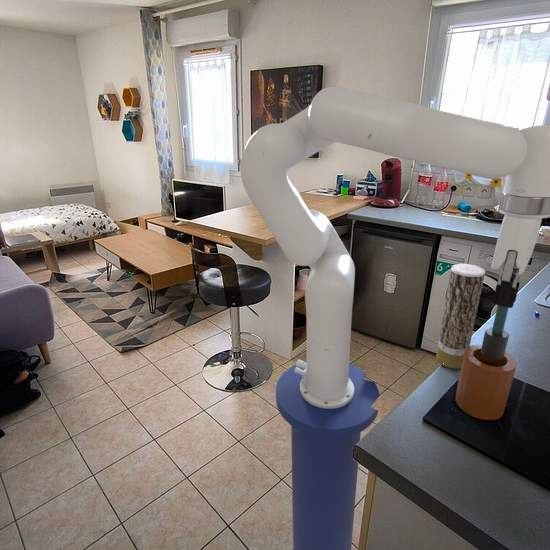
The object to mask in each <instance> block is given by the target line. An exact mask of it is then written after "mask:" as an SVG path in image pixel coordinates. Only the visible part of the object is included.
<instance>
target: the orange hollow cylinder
mask: <svg viewBox="0 0 550 550" xmlns="http://www.w3.org/2000/svg"><path fill="white" fill-rule="evenodd" d="M481 348H482V344H472V345H470V346H469V347H467V348H466V350H465V352H464V357H463V362H462V367H461V368H460V372H459V378H458V382H457V387H456V392H455V403H456V404H457V406H458V407H459V408H460V409H461V410H462V411H463V412H464V413H466V414H468V415H469V416H471V417H473V418H476V419H479V420H484V421H497V420H498V419H501V418H502V417H503V416H504V413H505V409H506V406H507V402H508V399H509V395H510V391H511V387H512V384H513V380H514V376H515V374H516V373H515V372H516V369H517V365H518V362H517V360H516V358H515V357H514V356H512V354H510V353H509V352H508V351H505V354H504V358H503V359H501V360H492V359H489V358H487V357H485V356H483V355H482V354H481Z"/></svg>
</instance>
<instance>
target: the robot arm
mask: <svg viewBox="0 0 550 550" xmlns="http://www.w3.org/2000/svg"><path fill="white" fill-rule="evenodd" d="M333 143H340V144H342V145H343V144H344V145H347V146H353V147H356V148H360V149H363V150H369V151H371V152H375V153H379V154H383V155H387V156H391V157H396V158H399V159H402V160H407V161H414V162H419V163H422V164H423V163H424V164H427V165H430V166H434V167H439V168H443V169H446V170H450V171H454V172H459V173H462V174H467V175H471V176H474V177H478V178H482V179H487V180H488V179H489V180H498V179H502V178H505V179H504V180H505V181H504V185H503V191H502V195H501V199H500V204H499V209H498V213H500V214H502V215H504V216H503V219H502V222H501V224H500V225H501V226H500V229H499V232H498V237H497V240H496V244H495V249H494V253H493V256H492V260H491V261H492V262H491V264H490V269H491V270H492V271H498V270H499V269H500V271H499V276H498V281H497V283H496V286H495V290H494V294H493V299H492V304H493V305H496V306H498V305H499V306H504V307H508V308H509V309H513V308H514V304H515V302H516V300H517V296H518V292H519V288H520V285H521V282H520V279H521V275H523V274H524V272H525V271H526V268H527V266H528V264H529V262H530V260H531V257H532V254H533V252H534V249H535V247H536V242H537V239H538V235H539V232H540V229H541V224H542V220H543V219H548V218H550V124H544V125H543V124H541V125H539V124H538V125H528V126H527V125H526V126H523V127H513V126H510V125H506V124H502V123H497V122H492V121H488V120H483V119H478V118H474V117H471V116H465V115H462V114H457V113H452V112H447V111H443V110H438V109H435V108H432V107H429V106H426V105H422V104H418V103H414V102H410V101H405V100H401V99H395V98H390V97H388V96H387V97H386V96H382V95H378V94H374V93H369V92H365V91H361V90H356V89H351V88H347V87H343V86H327V87H325V88H323V89H321V90H320V91H318V92H317V93H316V94H315V96H314V97H313V99H312V100H311V102H310V105H309V106H307V107H306V108H304V109H302V110H301V111H299V112H298V113H296V114H295V115H293V116H291V117H289V118H288V119H287V120H285V121H283V122H282V123H269V124H265V125H264V126H262V127H260V128H258V129H257V130H256V131H255V132H254V133H253V134H252V135H251V136H250V138H249V139H248V140H247V142H246V145H245V147H244V149H243V151H242V154H241V158H240V170H239V171H240V178H241V182H242V185H243V188H244V190H245V193H246V194H247V196H248V197H249V199H250V201H251V203H252V204H253V206H254V207H255V209H256V210H257V212H258V213H259V214H260V216H261V218H262V219H263V221H264V223H265V225H266V227H267V228H268V230H269V231H270V233H271V235H272V236H273V238H274V239H275V241H276V242H277V244H278V246H279V247H280V249H281V251H282V252H283V254H284V256H285V257H286V258H287V259H288V260H289V261H290V262H291V263H293V264H295V265H297V266H301V267H309V268H310V272H309V275H308V277H307V279H306V284H305V289H304V303H305V311H306V312H305V314H306V361H307V363H305V361H304V360H302V359H297V360H296V362H295V365H296V368H295V370H294V372H295V373H297V374H300V375H302V377H303V379H302V380H301V382H300V393H301V395H302V397H303V398H304V399H305V400H306V401H307V402H308V403H310V404H312V405H314V406H316V407H319V408H324V409H334V408H339V407H342V406H345V405H346V404H348V403H349V402H350V401H351V400H352V398H353V396H354V385H353V383H352V381H351V380H350V379H349V378H348V373H349V364H350V353H351V337H352V320H353V319H352V318H353V304H354V292H355V291H354V290H355V277H356V266H355V262H354V260H353V259H352V257H351V254H350V253H349V250H347V248H346V246H345V244H344V242H343V241H342V239H341V238H340V236H339V235H338V232H337V231H336V229H335V227H334V226H333V224H332V223H331V221H330V220H329V218H327V217H326V216H325V215H324V214H323V213H322V212H320V211H319V210H316V209H311V208H308V207H307V205H306V204H305V202H304V200H303V199H302V196H301V195H300V194H299V192H298V190H297V189H296V187H295V185H293V183H291V181H290V179H289V177H288V171H289V169H291V168H293V167H295V166H296V165H298V164H299V163H301V162H303V161H305V160H306V159H308V158H310V157H312V156H313V155H315V154H317V153H318V152H320V151H322V150H323V149H325V148H327V147H329V146H330V145H332V144H333ZM512 275H513V276H514V277H513V276H512ZM297 367H298V368H297ZM299 368H300V369H299ZM301 369H304V371H303V370H301Z"/></svg>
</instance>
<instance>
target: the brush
mask: <svg viewBox="0 0 550 550" xmlns="http://www.w3.org/2000/svg"><path fill="white" fill-rule="evenodd" d="M512 276H513V275H512ZM513 277H514V276H513ZM496 306H497V307H496V312H495V315H494V319H493V324H492V327H487V328H485V330H484V335H483V340H482V343H481V345H482V348H481V354H482V355H483V356H485V357H487V358H489V359H492V360H501V359H503V358H504V354H505V352H506V350H507V347H508V342H509V338H510V334H509V332H508V331H507V330H505V325H506V322H507V317H508V313H509V309H510V308H508V307H504V306H499V305H496Z"/></svg>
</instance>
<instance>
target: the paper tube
mask: <svg viewBox="0 0 550 550" xmlns="http://www.w3.org/2000/svg"><path fill="white" fill-rule="evenodd" d="M485 275H486V269H484V268H483V267H481V266H479V265H475V264H469V263H456V264H453V265H451V268H450V272H449V277H448V278H449V279H448V284H447V290H446V296H445V303H444V308H443V313H442V314H443V315H442V320H441V321H442V322H441V325H440V331H439V338H438V343H437V350H436V356H435V358H436V360H437V362H438V363H439V364H440V365H442V366H444V367H445V368H448V369H454V370H459V369H461V367H462V362H463V357H464V352H465V350H466V348H467V347H469V346H471V342H472V337H473V332H474V328H475V323H476V318H477V313H478V309H479V308H478V307H479V303H480V298H481V294H482V290H483V289H482V288H483V284H484V280H485ZM443 363H444V364H443Z"/></svg>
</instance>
